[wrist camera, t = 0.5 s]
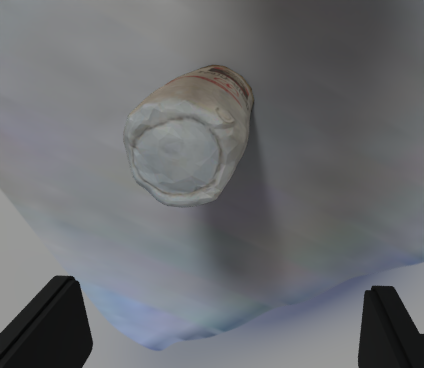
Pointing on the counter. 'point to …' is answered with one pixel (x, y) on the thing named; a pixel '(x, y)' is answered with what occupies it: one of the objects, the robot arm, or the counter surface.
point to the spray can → (190, 136)
